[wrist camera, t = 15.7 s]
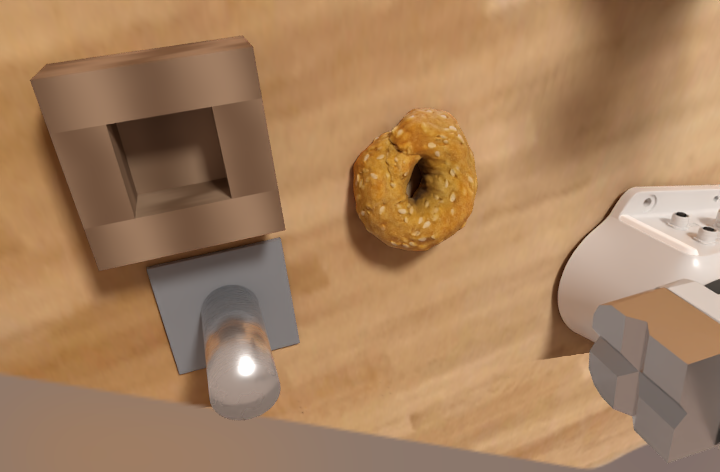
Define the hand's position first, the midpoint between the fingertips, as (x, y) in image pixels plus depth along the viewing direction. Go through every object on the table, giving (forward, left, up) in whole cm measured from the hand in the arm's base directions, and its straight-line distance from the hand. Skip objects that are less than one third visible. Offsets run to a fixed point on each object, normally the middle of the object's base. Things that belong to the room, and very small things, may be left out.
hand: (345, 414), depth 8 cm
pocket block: (+3, +6, -34) cm, 35 cm away
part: (+2, +20, -34) cm, 39 cm away
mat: (+2, +20, -34) cm, 39 cm away
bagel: (-14, +11, -35) cm, 39 cm away
